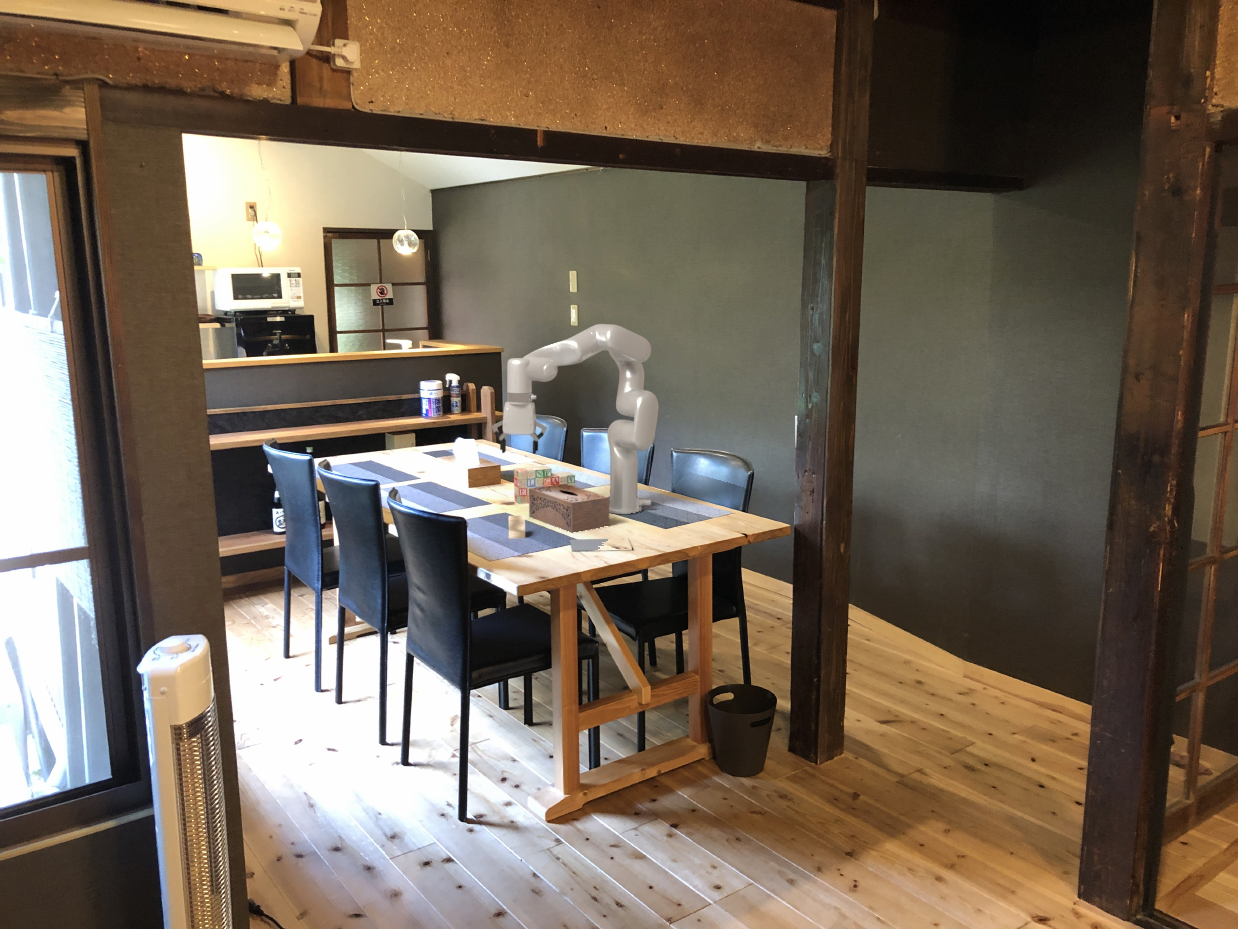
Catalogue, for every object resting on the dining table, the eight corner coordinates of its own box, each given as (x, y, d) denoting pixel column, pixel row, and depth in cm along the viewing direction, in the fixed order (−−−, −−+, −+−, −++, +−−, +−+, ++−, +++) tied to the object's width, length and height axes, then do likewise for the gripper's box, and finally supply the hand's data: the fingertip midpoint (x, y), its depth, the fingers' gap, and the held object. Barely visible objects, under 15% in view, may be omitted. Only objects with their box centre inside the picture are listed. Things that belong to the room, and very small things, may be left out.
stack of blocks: (569, 496, 348) (569, 463, 346) (575, 499, 342) (575, 466, 340) (514, 501, 340) (513, 467, 338) (519, 504, 334) (518, 470, 332)
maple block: (524, 534, 295) (524, 515, 294) (525, 538, 290) (524, 519, 289) (508, 534, 294) (508, 515, 293) (508, 538, 289) (508, 519, 288)
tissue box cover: (529, 517, 316) (528, 488, 315) (565, 511, 325) (564, 483, 323) (572, 533, 296) (572, 503, 294) (609, 527, 305) (609, 497, 303)
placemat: (628, 539, 289) (628, 538, 289) (633, 550, 277) (633, 549, 277) (569, 540, 287) (569, 539, 287) (572, 551, 275) (572, 550, 275)
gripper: (548, 397, 295) (547, 451, 298) (493, 396, 295) (493, 450, 298) (545, 400, 287) (545, 455, 290) (489, 398, 288) (489, 453, 291)
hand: (519, 452), depth 294 cm, fingers open, 9 cm apart
